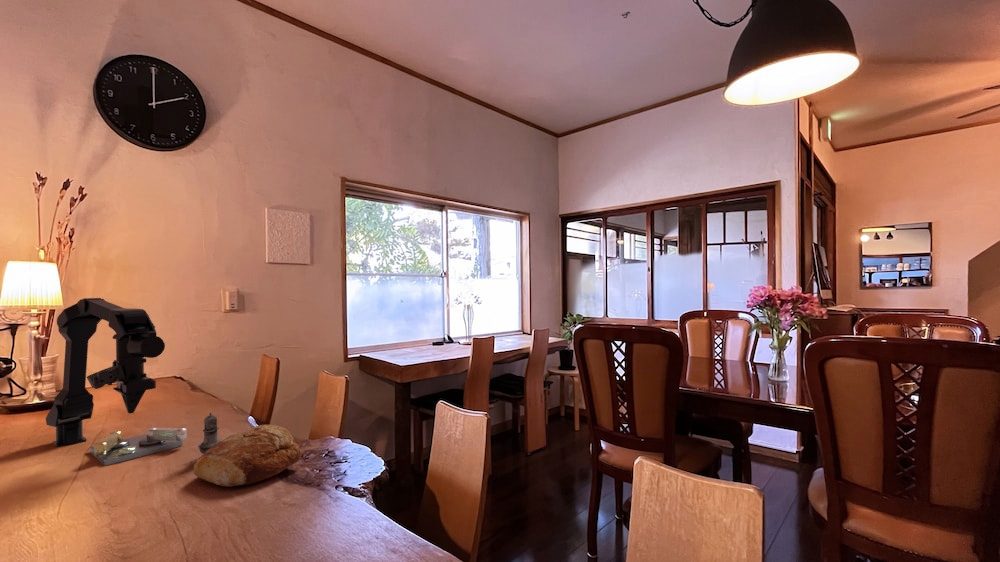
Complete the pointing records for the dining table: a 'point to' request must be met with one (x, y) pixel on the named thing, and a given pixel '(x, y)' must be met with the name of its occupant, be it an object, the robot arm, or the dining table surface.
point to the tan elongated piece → (110, 443)
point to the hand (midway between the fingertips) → (130, 413)
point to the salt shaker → (209, 434)
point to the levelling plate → (134, 450)
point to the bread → (248, 456)
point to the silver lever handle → (163, 435)
